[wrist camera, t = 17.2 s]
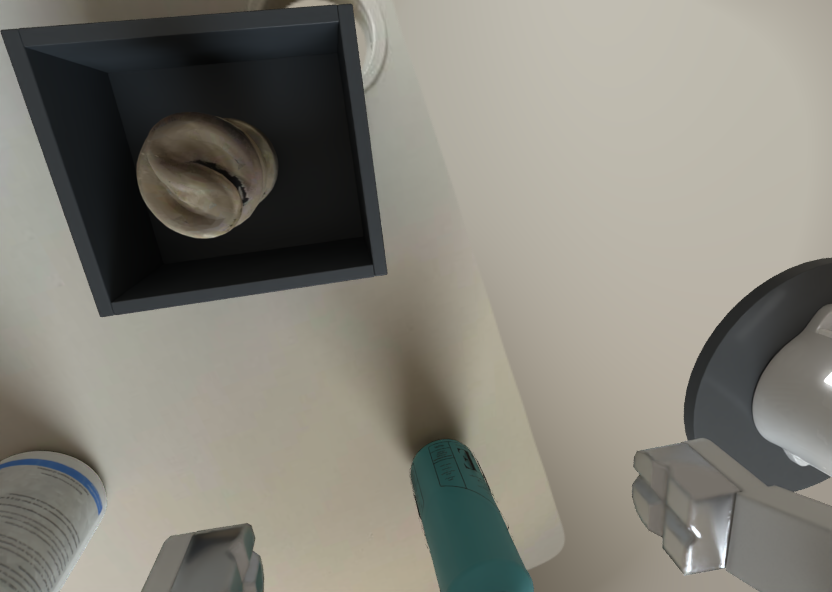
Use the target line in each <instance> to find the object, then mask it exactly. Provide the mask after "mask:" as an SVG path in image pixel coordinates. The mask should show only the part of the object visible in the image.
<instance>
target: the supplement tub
mask: <svg viewBox="0 0 832 592" xmlns="http://www.w3.org/2000/svg"><path fill="white" fill-rule="evenodd" d="M106 507H107V496H106V491H105V488H104V485H103V483H102V481H101V479H100V478H99V476H98V475H97V474H96V473H95V472H94V470H93V469H91V468H90V467H89V466H88V465H86V464H85V463H83V462H82V461H80V460H78V459H76V458H74V457H71V456H68V455H65V454H61V453H57V452H50V451H32V452H25V453H20V454H17V455H13V456H11V457H8V458H6V459H4V460H2V461H0V592H60V590H61V588H62V587H63V585H64V583H65V582H66V580H67V578H68V577H69V575H70V573H71V572H72V570H73V568H74V566H75V565H76V563H77V561H78V560H79V558H80V556H81V555H82V553H83V551H84V549H85V548H86V546H87V544H88V543H89V541H90V539H91V538H92V536H93V534H94V533H95V531H96V529H97V527H98V525H99V524H100V522H101V520H102V519H103V517H104V514H105V511H106Z"/></svg>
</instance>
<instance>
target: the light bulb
mask: <svg viewBox="0 0 832 592" xmlns="http://www.w3.org/2000/svg"><path fill="white" fill-rule="evenodd" d="M278 168H279V166H278V157H277V154H276V151H275V149H274V147H273V145H272V143H271V141H270V140H269V139H268V138H267V136H266V135H265V134H264V133H263V132H262V131H261V130H259V129H258V128H256V127H255V126H253V125H251V124H249V123H247V122H245V121H242V120H239V119H234V118H221V117H217V116H213V115H210V114H205V113H200V112H181V113H175V114H172V115H169V116H167V117H165V118H163V119H161V120H160V121H159V122H158V123H157V124H156V125H154V126H153V128H152V129H151V130H150V132H149V135H148V137H147V138H146V140H145V142H144V144H143V146H142V149H141V151H140V154H139V157H138V161H137V182H138V186H139V189H140V193H141V195H142V197H143V199H144V201H145V203H146V205H147V206H148V208H149V209H150V210H151V211H152V213H153V214H154V215H155V216H156V217H157V218H158V219H159V220H160V221H161V222H162V223H163V224H164V225H166V226H167V227H168V228H170V229H172V230H174V231H176V232H178V233H180V234H183V235H186V236H190V237H194V238H213V237H217V236H220V235H223V234H225V233H227V232H229V231H230V230H231V229H233V228H234V227H236V226H237V225H239V224H241V223H242V222H244V221H245V220H246V219H247V218H249V217H250V216H251V214H252V213H253V211H254V210H255V208H256V207H257V205H258V204H259V203H260V202H261V201H262V200H263V199H264V198H265V197H267V196H268V194H269V193H270V192H271V190H272V189H273V187H274V184H275V182H276V180H277V176H278Z"/></svg>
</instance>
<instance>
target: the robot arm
mask: <svg viewBox="0 0 832 592" xmlns="http://www.w3.org/2000/svg"><path fill="white" fill-rule="evenodd" d="M752 413H753V420H754V423H755V426H756V428H757V430H758V431H759V433H760V434H761V435H762V436H763V437H764V438H765V439H766V440H768V441H769V442H771V443H773V444H775V445H777V446H779V447H781V448H783V450H784V451H785V453H786V455H787V456H788V458H789V459H790V460H791V461H793V462H795V463H796V464H798V465H800V466H807V465H811V466H813V467H815V468H817V469H818V470H820V471H822V472H824V473H826V474H827V475H829V476H831V477H832V304H827V305H825V306H823V307H822V308H820V309H819V310H818V311H817V313H816V314H815V315H814V316H813V318H812V319H811V320H810V322H809V323H808V325H807V326H806V328H805V329H804V330H803V331H802V332H801V333H800V334H799V335H798V336H796V337H795V338H794V339H793V340H791V341H790V342H789V343H788V344H786V345H785V346H784V347H783V348H782V349H781V350H780V351H779V352H778V353H777V354H776V355H775V356H774V358H773V359H772V360H771V361H770V363H769V364H768V366H767V367H766V369H765V370H764V372H763V374H762V375H761V377H760V379H759V382H758V384H757V387H756V390H755V393H754V398H753V405H752ZM634 468H635V470H636V471H637V472H638V473H639V476H638V477H637V479H636V480H635V481H634V483H633V485H632V498H633V502H634V505H635V509H636V511H637V513H638V515H639V517H640V519H641V521H642V522H643V523H644V525H645V526H646V527H647V529H648V530H649V531H651V532H653V533H655V534H657V535H659V536H661V537H662V538H663V549H664V550H665V551H666V553H667V554H668V555H669V557H670V558H671V559H672V560H673V562H674V563H675V564H676V565H677V567H678V568H679V569H680V570H681V572H682V573H683V574H684V575H690V574H696V573H701V572H706V571H712V570H718V569H723V568H726V571H727V572H729V573H731V574H732V575H734V576H736V577H737V578H739V579H740V580H742V581H743V582H745V583H747V584H748V585H750V586H752V587H753V588H755V589H756V590H758V591H760V592H832V506H830V505H827V504H825V503H822V502H819V501H816V500H814V499H811V498H808V497H805V496H803V495H800V494H797V493H794V492H792V491H789V490H786V489H783V488H781V487H778V486H775V485H774V486H769V487H768V486H766V485H765V484H764V483H763V482H761V481H760V480H759V479H758V478H756V477H755V476H754V475H753V474H751V473H750V472H749V471H748V470H746V469H745V468H744V467H743V466H742V465H740V464H739V463H738V462H737V461H735V460H734V459H733V458H732V457H730V456H729V455H728V454H727V453H725V452H724V451H723V450H722V449H720V448H719V447H718V446H717V445H715V444H714V443H713V442H712V441H710V440H708V439H705V438H699V439H694V440H689V441H685V442H681V443H677V444H672V445H666V446H661V447H656V448H651V449H646V450H640V451H637V452H636V454H635V456H634ZM254 542H255V535H254V532H253V529H252V526H251V525H250V524H248V523H245V524H239V525H233V526H226V527H220V528H214V529H208V530H201V531H197V532H192V533H186V534H180V535H174V536H170V537H169V538H168V539H167V540H166V541H165V542H164V543H163V546H162V548H161V550H160V552H159V554H158V556H157V558H156V561H155V563H154V565H153V567H152V569H151V571H150V574H149V576H148V578H147V580H146V582H145V584H144V586H143V589H142V591H141V592H264V574H263V565H262V561H261V558H260V555H258V554H257V553H255V552H254V551H253V547H254Z"/></svg>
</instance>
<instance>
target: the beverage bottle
mask: <svg viewBox="0 0 832 592" xmlns="http://www.w3.org/2000/svg"><path fill="white" fill-rule="evenodd" d="M474 456H475V455H474ZM474 456H473V453H471V451H470V450H469V449H468V448H467V446H465V445H463V444H462V443H460V442H458V441H455V440H451V439H442V440H437V441H434V442H431V443H429V444H427V445H426V446H424V447H423V448H422V449H421V450H420V451H419V452H418V453H417V454H416V456H415V458H414V460H413V462H412V465H411V466H412V467H411V468H410V469H411V474H410V475H411V480H412V484H413V487H412V486H411V487H412V488H413V489H414V491H415V495H416V496H415V495H414V494H413V495H414V496H415V498H414V499H415V500H416V499H417V500H416V504H417V503H418V504H417V509H418V513H419V517H420V518H421V520H422V523H423V527H424V529H423V530H424V531H425V532H424V533H425V534H424V535H425V536H426V540H427V543H428V546H429V549H430V553H431V557H432V560H433V564H434V568H435V572H436V576H437V580H438V584H439V588H440V592H534V587H533V582H532V579H531V577H530V575H529V573H528V571H527V570H526V568H525V566H524V564H523V562H522V560H521V558H520V556H519V554H518V551H517V549H516V547H515V545H514V543H513V541H514V540H513V541H512V539H511V536H510V534H509V532H508V529H507V527H506V524H505V522H504V520H503V518H502V516H501V514H502V513H501V514H500V512H499V509H498V507H497V505H496V503H495V501H494V499H493V496H494V495H493V492H492V495H493V496H492V495H491V491H490V488H489V486H487V485H488V483H487V481H486V482H485V480H486V478H485V476H484V474H483V475H482V473H483V471H482V469H481V471H482V473H481V471H480V469H479V467H478V465H479V463H476V461H475V458H474ZM476 460H477V459H476ZM477 462H478V461H477ZM479 466H480V465H479ZM480 468H481V467H480ZM410 475H409V477H410ZM484 478H485V480H484ZM410 483H411V482H410ZM486 483H487V484H486ZM412 491H413V490H412ZM414 491H413V492H414ZM496 502H497V501H496ZM419 511H420V512H419ZM420 515H421V516H420ZM508 528H509V526H508ZM511 534H512V533H511Z"/></svg>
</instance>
